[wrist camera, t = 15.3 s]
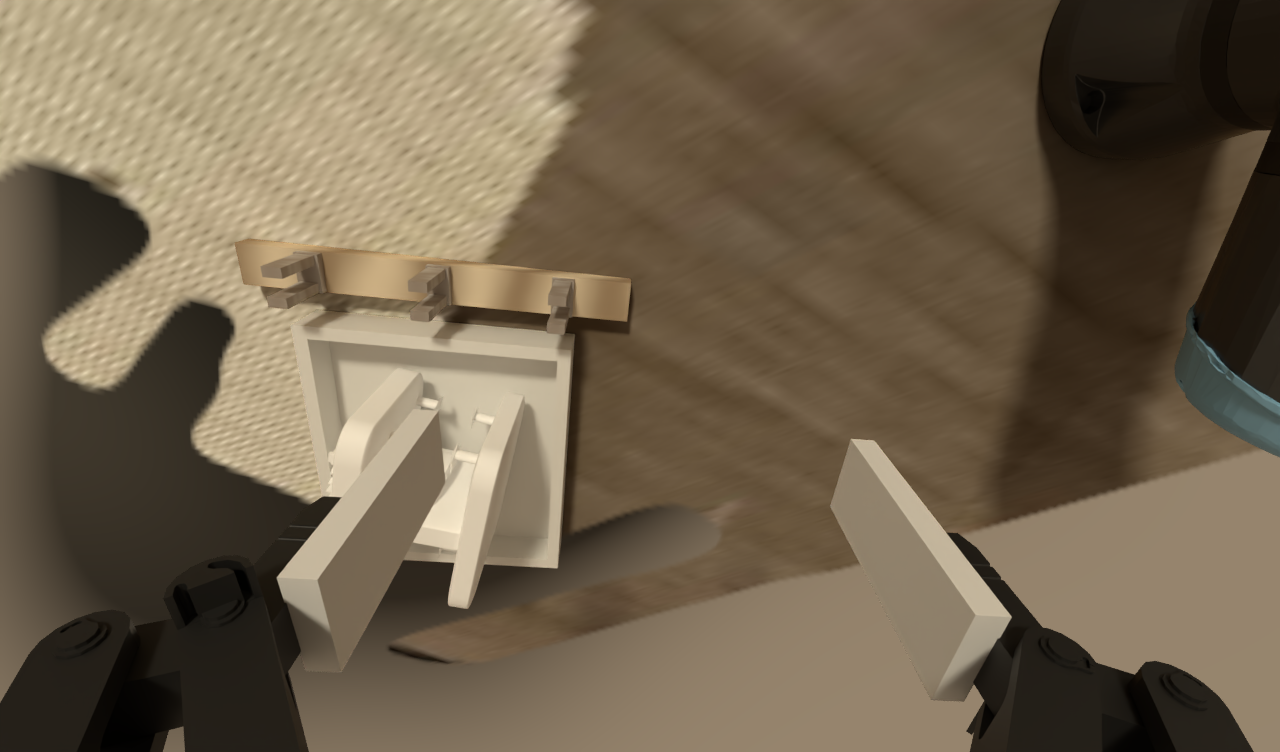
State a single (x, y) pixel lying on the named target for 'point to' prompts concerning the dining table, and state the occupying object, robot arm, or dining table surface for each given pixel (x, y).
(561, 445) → the holder tray
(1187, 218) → the dining table surface
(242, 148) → the dining table surface
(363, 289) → the cable clip rail
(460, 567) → the cable organizer
